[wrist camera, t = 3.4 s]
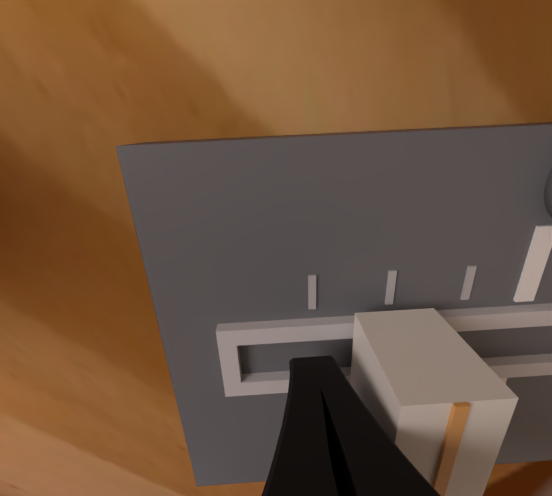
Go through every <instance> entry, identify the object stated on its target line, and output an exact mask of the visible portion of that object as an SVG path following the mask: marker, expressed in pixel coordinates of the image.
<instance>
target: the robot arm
mask: <svg viewBox="0 0 552 496" xmlns="http://www.w3.org/2000/svg"><path fill="white" fill-rule="evenodd" d="M289 369H290V377H289V388H288V395H287V401H286V406H285V411H284V416H283V421H282V426H281V430H280V434H279V438H278V442H277V445H276V449H275V453H274V457H273V461H272V464H271V467H270V471H269V474H268V477H267V481H266V484H265V487H264V490H263V493H262V496H441V495H440V494H439V493H438V492H437V491H436V490H435V489H434V488H433V487H432V486H431V485H430V483H429V482H428V481H427V480H426V479H425V478H424V477H423V476H422V475H421V474H420V472H419V471H418V470H417V469H416V468H415V467H414V466H413V464H412V463H411V462H410V461H409V460H408V459H407V457H406V456H405V455H404V454H403V453H402V452H401V450H400V449H399V448H398V447H397V445H396V444H395V443H394V442H393V441H392V439H391V438H390V437H389V436H388V435H387V433H386V432H385V431H384V429H383V428H382V427H381V426H380V424H379V423H378V422H377V420H376V419H375V418H374V416H373V415H372V414H371V412H370V411H369V410H368V408H367V407H366V406H365V404H364V403H363V402H362V400H361V399H360V397H359V396H358V395H357V393H356V392H355V390H354V389H353V387H352V386H351V384H350V383H349V381H348V380H347V378H346V377H345V375H344V374H343V372H342V371H341V369H340V367H339V366H338V364H337V362H336V360H335V359H334V358H333V357H332V356H331V355H329V356H314V357H300V358H292V359H291V360H290V361H289Z"/></svg>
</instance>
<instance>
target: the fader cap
mask: <svg viewBox="0 0 552 496" xmlns="http://www.w3.org/2000/svg"><path fill="white" fill-rule="evenodd" d="M350 384H351V386H352V387H353V389H354V390H355V392H356V393H357V395H358V396H359V397H360V399H361V400H362V402H363V403H364V404H365V406H366V407H367V408H368V410H369V411H370V412H371V414H372V415H373V416H374V418H375V419H376V420H377V422H378V423H379V424H380V426H381V427H382V428H383V429H384V431H385V432H386V433H387V435H388V436H389V437H390V438H391V439H392V441H393V442H394V443H395V444H396V445H397V447H398V448H399V449H400V450H401V452H402V453H403V454H404V455H405V456H406V457H407V459H408V460H409V461H410V462H411V463H412V464H413V466H414V467H415V468H416V469H417V470H418V471H419V472H420V474H421V475H422V476H423V477H424V478H425V479H426V480H427V481H428V482H429V483H430V485H431V486H432V487H433V488H434V489H435V490H436V491H437V492H438V493H439V494H440V495H441V496H483V493H484V491H485V488H486V485H487V483H488V480H489V477H490V474H491V472H492V469H493V466H494V464H495V461H496V458H497V456H498V453H499V450H500V447H501V445H502V442H503V439H504V437H505V434H506V431H507V428H508V426H509V423H510V420H511V418H512V415H513V412H514V410H515V407H516V404H517V401H518V399H519V398H518V397H517V396H516V395H515V394H514V393H513V392H512V390H511V389H510V388H509V387H508V386H507V385H506V384H505V383H504V382H503V381H502V380H501V379H500V378H499V377H498V376H497V375H496V374H495V372H494V371H493V370H492V369H491V368H490V367H489V366H488V365H487V364H486V363H485V362H484V361H483V360H482V359H481V358H480V357H479V356H478V354H477V353H476V352H475V351H474V350H473V349H472V348H471V347H470V346H469V345H468V344H467V343H466V342H465V341H464V340H463V339H462V338H461V336H460V335H459V334H458V333H457V332H456V331H455V330H454V329H453V328H452V327H451V326H450V325H449V324H448V323H447V322H446V321H445V319H444V318H443V317H442V316H441V315H440V314H439V313H438V312H437V311H436V310H435V309H434V308H426V309H410V310H394V311H378V312H362V313H355V318H354V332H353V347H352V362H351V376H350Z"/></svg>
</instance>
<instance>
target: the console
mask: <svg viewBox="0 0 552 496" xmlns="http://www.w3.org/2000/svg"><path fill="white" fill-rule="evenodd" d="M116 149H117V154H118V158H119V162H120V166H121V170H122V174H123V179H124V183H125V187H126V191H127V195H128V200H129V204H130V208H131V212H132V216H133V221H134V225H135V229H136V233H137V237H138V242H139V246H140V250H141V254H142V258H143V262H144V267H145V271H146V275H147V279H148V283H149V288H150V292H151V296H152V300H153V304H154V309H155V313H156V317H157V321H158V325H159V329H160V334H161V338H162V342H163V346H164V350H165V355H166V359H167V363H168V367H169V371H170V376H171V380H172V384H173V388H174V392H175V396H176V401H177V405H178V409H179V413H180V417H181V422H182V426H183V430H184V434H185V438H186V443H187V447H188V451H189V455H190V459H191V463H192V468H193V472H194V476H195V480H196V484H197V486H206V485H220V484H234V483H247V482H261V481H267V477H268V474H269V471H270V467H271V464H272V461H273V457H274V453H275V449H276V445H277V442H278V438H279V434H280V430H281V426H282V421H283V416H284V411H285V406H286V401H287V395H288V388H289V377H290V369H289V361H290V360H291V359H292V358H300V357H314V356H329V355H331V356H332V357H333V358H334V359H335V360H336V362H337V364H338V366H339V367H340V369H341V371H342V372H343V374H344V375H345V377H346V378H347V380H348V381H349V383H350V376H351V362H352V347H353V332H354V318H355V313H362V312H378V311H394V310H410V309H426V308H434V309H435V310H436V311H437V312H438V313H439V314H440V315H441V316H442V317H443V318H444V319H445V321H446V322H447V323H448V324H449V325H450V326H451V327H452V328H453V329H454V330H455V331H456V332H457V333H458V334H459V335H460V336H461V338H462V339H463V340H464V341H465V342H466V343H467V344H468V345H469V346H470V347H471V348H472V349H473V350H474V351H475V352H476V353H477V354H478V356H479V357H480V358H481V359H482V360H483V361H484V362H485V363H486V364H487V365H488V366H489V367H490V368H491V369H492V370H493V371H494V372H495V374H496V375H497V376H498V377H499V378H500V379H501V380H502V381H503V382H504V383H505V384H506V385H507V386H508V387H509V388H510V389H511V390H512V392H513V393H514V394H515V395H516V396H517V397H518V398H519V399H518V401H517V404H516V407H515V410H514V412H513V415H512V418H511V420H510V423H509V426H508V428H507V431H506V434H505V437H504V439H503V442H502V445H501V447H500V450H499V453H498V456H497V458H496V461H495V464H506V463H519V462H533V461H545V460H552V122H549V123H529V124H508V125H488V126H467V127H447V128H427V129H406V130H386V131H365V132H345V133H325V134H304V135H284V136H263V137H243V138H222V139H202V140H182V141H161V142H143V143H136V144H128V145H120V146H116Z"/></svg>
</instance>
